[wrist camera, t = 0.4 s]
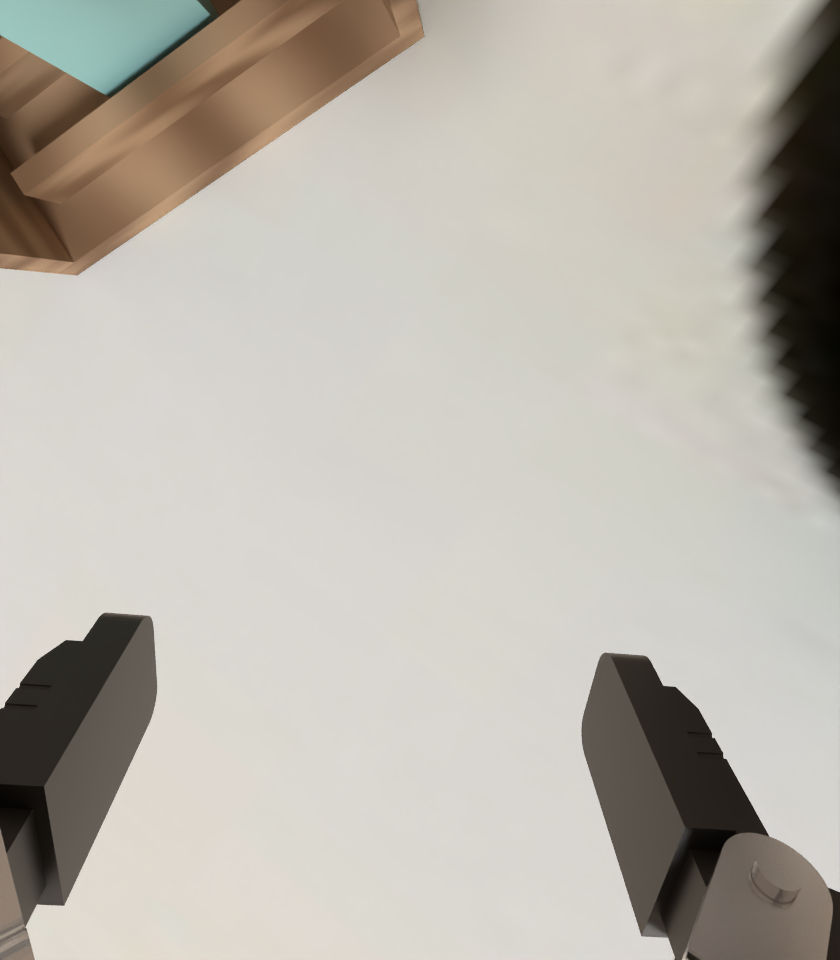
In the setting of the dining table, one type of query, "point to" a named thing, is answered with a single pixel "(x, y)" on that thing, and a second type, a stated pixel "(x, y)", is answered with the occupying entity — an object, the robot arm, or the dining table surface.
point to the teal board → (103, 34)
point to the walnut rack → (171, 120)
